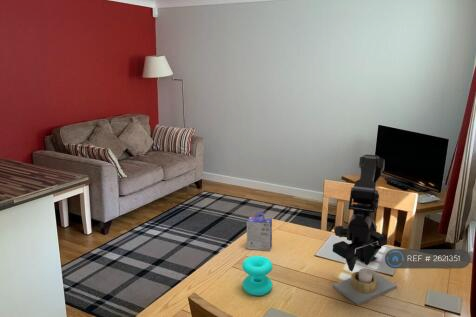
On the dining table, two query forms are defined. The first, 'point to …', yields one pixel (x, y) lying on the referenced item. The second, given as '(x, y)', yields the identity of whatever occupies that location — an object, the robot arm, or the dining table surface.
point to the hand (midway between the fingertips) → (358, 267)
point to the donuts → (257, 275)
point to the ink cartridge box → (259, 233)
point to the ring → (363, 284)
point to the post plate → (364, 296)
